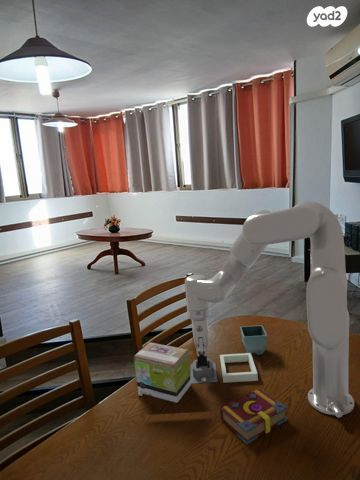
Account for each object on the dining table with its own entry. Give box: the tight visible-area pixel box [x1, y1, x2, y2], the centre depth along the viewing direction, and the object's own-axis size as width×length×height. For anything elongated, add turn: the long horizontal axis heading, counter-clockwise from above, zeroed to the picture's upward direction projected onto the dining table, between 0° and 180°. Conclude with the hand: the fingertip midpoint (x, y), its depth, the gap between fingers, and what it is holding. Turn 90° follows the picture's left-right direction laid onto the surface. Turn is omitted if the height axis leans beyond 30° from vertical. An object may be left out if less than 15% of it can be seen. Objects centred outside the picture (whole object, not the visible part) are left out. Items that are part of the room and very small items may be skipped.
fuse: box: [196, 347, 208, 368], centre depth 121 cm, size 4×4×9 cm
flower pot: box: [239, 325, 268, 356], centre depth 134 cm, size 9×9×9 cm
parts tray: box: [219, 352, 259, 384], centre depth 121 cm, size 13×11×4 cm
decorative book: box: [220, 388, 288, 445], centre depth 99 cm, size 11×16×5 cm
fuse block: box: [190, 358, 218, 384], centre depth 122 cm, size 12×9×4 cm
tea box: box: [133, 341, 192, 403], centre depth 114 cm, size 15×10×15 cm, turn 62°
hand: (202, 359), depth 121 cm, fingers open, 7 cm apart
